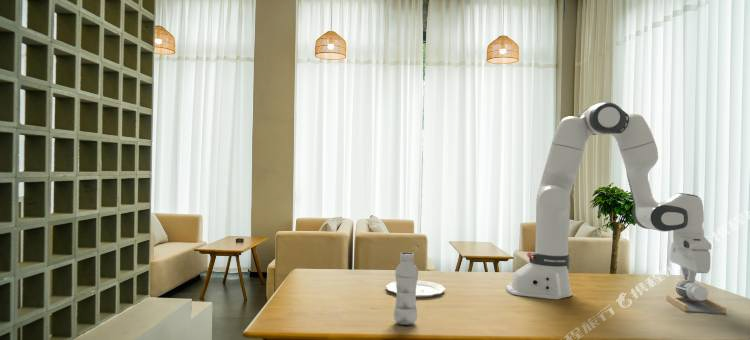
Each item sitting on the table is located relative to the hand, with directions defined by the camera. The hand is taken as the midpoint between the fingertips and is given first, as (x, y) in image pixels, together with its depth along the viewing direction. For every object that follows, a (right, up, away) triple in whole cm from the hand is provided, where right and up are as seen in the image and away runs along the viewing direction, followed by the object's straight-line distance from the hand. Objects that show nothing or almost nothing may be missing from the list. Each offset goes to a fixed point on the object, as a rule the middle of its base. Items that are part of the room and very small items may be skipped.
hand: (688, 280), depth 163 cm
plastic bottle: (-99, -6, -28) cm, 103 cm away
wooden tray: (-2, -7, -6) cm, 10 cm away
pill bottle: (0, -3, +2) cm, 4 cm away
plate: (-93, -6, +7) cm, 94 cm away
